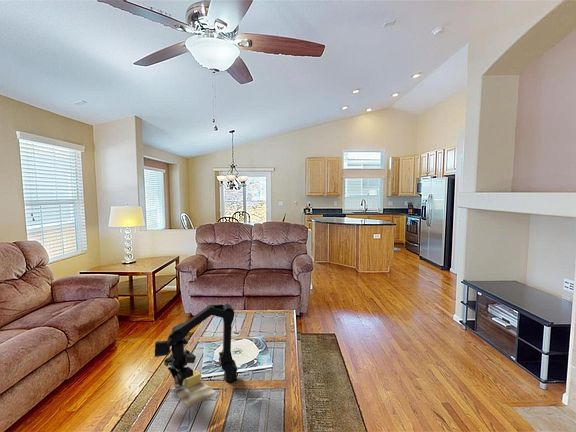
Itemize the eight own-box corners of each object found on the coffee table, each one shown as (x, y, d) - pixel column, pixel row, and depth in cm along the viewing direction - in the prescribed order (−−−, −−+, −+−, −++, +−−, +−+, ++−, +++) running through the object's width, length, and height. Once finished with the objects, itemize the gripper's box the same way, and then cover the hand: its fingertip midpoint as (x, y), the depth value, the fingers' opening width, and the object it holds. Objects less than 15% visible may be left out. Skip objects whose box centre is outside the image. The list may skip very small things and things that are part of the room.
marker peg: (184, 386, 152) (183, 376, 151) (176, 389, 150) (175, 379, 149) (181, 382, 155) (180, 372, 154) (173, 385, 152) (173, 375, 152)
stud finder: (200, 382, 158) (200, 373, 158) (187, 388, 153) (187, 378, 153) (196, 378, 161) (196, 369, 161) (183, 383, 157) (183, 374, 156)
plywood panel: (216, 394, 150) (216, 393, 150) (189, 409, 140) (189, 407, 140) (195, 376, 164) (195, 375, 164) (169, 388, 154) (169, 387, 154)
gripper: (203, 353, 150) (203, 384, 151) (184, 340, 163) (185, 369, 164) (181, 363, 142) (182, 395, 143) (163, 348, 155) (164, 378, 156)
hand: (178, 383), depth 152 cm, fingers closed on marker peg, 4 cm apart
